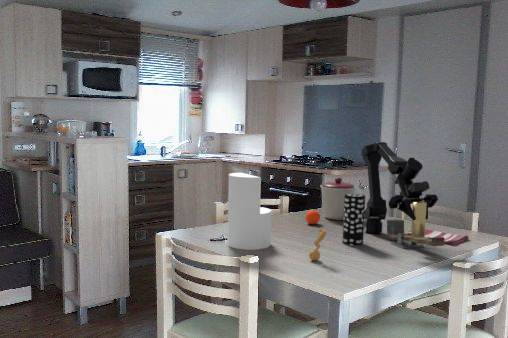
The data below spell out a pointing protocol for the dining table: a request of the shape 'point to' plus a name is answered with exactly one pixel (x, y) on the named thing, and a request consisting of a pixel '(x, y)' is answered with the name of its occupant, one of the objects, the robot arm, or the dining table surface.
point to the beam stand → (405, 243)
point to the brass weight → (419, 219)
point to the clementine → (312, 217)
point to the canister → (335, 198)
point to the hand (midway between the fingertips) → (420, 219)
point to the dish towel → (448, 238)
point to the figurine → (315, 253)
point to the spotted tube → (353, 219)
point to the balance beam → (398, 227)
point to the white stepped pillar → (247, 214)
